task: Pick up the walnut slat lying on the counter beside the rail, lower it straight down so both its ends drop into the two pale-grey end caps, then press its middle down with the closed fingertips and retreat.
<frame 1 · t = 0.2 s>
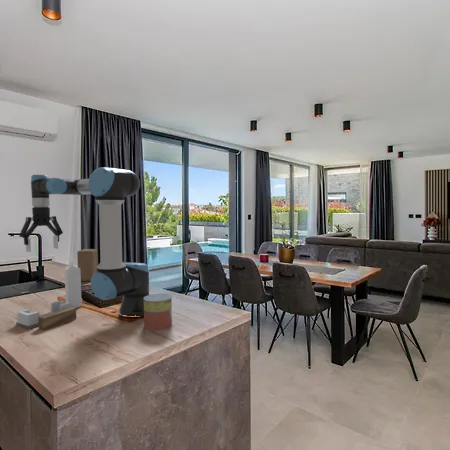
hand: (42, 250, 164), 28 cm above the counter, fingers open, 13 cm apart
canned food: (158, 326, 136), on the counter
endcap rail: (45, 319, 144), on the counter
slat: (58, 323, 140), on the counter
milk: (73, 307, 163), on the counter
wooden block: (88, 280, 221), on the counter
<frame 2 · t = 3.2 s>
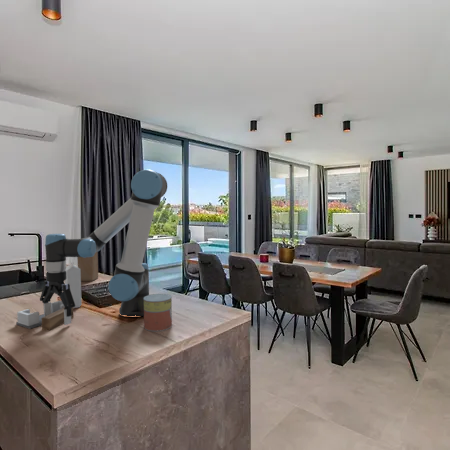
hand: (57, 321, 140), 1 cm above the counter, fingers open, 13 cm apart
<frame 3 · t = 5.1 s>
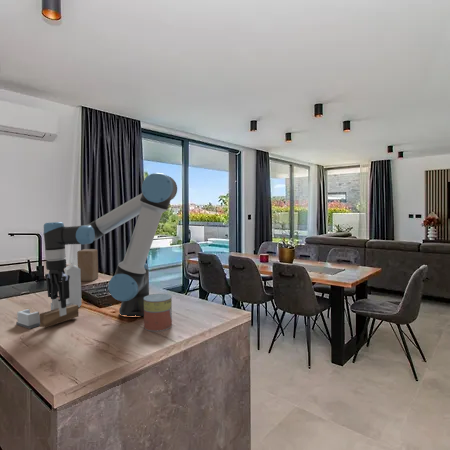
hand: (59, 314, 139), 4 cm above the counter, fingers closed on slat, 4 cm apart
slat: (60, 321, 139), point 1 cm above the counter, touching gripper
everything else where it was.
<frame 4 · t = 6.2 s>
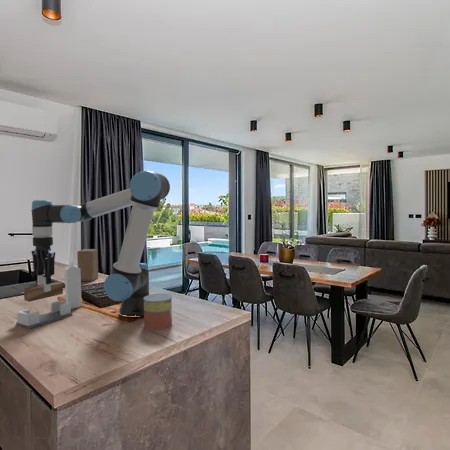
hand: (44, 290, 143), 13 cm above the counter, fingers closed on slat, 3 cm apart
slat: (44, 297, 143), point 10 cm above the counter, touching gripper
everything else where it was.
when the fingers open (3 cm above the counter, at t = 7.4 s): slat stays where it is, resting on endcap rail.
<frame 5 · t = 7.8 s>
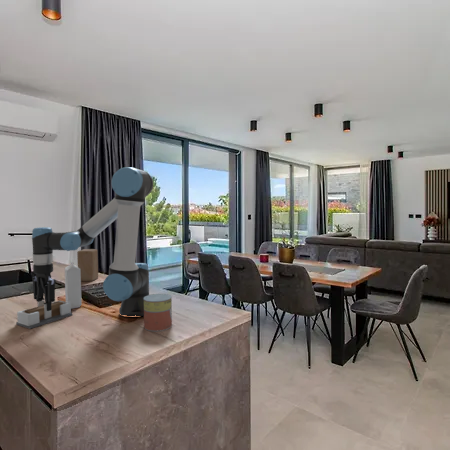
hand: (44, 316, 144), 1 cm above the counter, fingers open, 4 cm apart
slat: (44, 317, 144), point 1 cm above the counter, touching endcap rail
everything else where it was.
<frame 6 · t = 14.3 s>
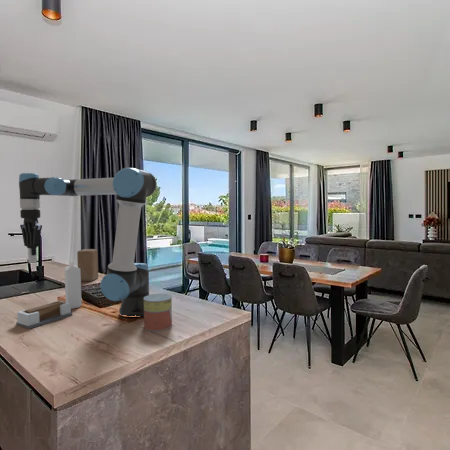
hand: (32, 262, 147), 24 cm above the counter, fingers closed
nothing on the counter moved.
at the end: slat 0.1 cm off-centre on the endcap rail, point 1.0 cm above the endcap rail's base; slat tilted 0°; the gripper is holding nothing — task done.
